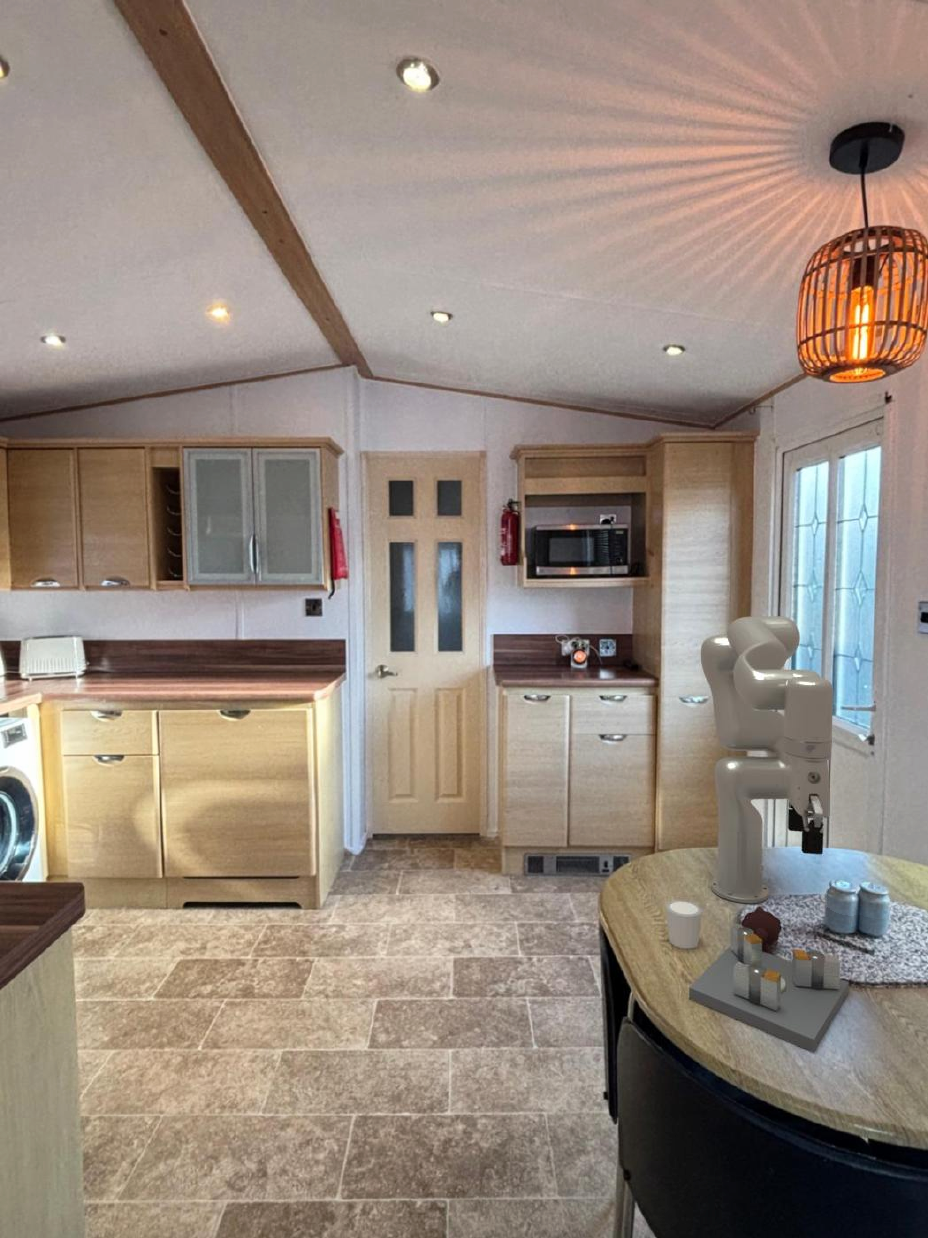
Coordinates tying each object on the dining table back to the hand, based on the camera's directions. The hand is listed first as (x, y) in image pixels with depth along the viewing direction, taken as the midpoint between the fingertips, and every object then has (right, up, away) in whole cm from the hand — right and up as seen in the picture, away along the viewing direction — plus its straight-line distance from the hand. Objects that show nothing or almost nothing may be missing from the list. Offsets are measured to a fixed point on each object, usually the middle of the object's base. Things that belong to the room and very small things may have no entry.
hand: (804, 841), depth 121 cm
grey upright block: (-8, -24, +5) cm, 26 cm away
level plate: (-7, -26, -2) cm, 27 cm away
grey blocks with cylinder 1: (-12, -25, -7) cm, 28 cm away
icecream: (-1, -25, +15) cm, 29 cm away
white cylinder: (-16, -25, +16) cm, 34 cm away
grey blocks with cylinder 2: (0, -24, -3) cm, 24 cm away
